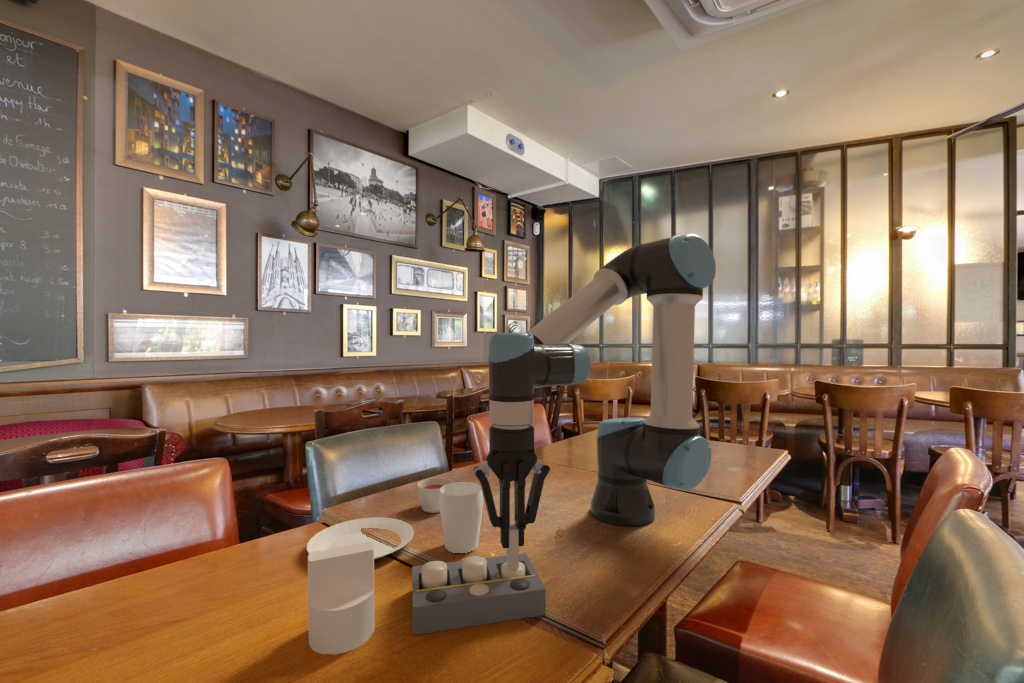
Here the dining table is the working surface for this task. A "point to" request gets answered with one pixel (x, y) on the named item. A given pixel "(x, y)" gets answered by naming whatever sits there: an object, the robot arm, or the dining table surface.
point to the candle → (431, 493)
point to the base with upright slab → (341, 598)
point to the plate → (360, 535)
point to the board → (476, 598)
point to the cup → (461, 515)
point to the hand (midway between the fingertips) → (512, 565)
